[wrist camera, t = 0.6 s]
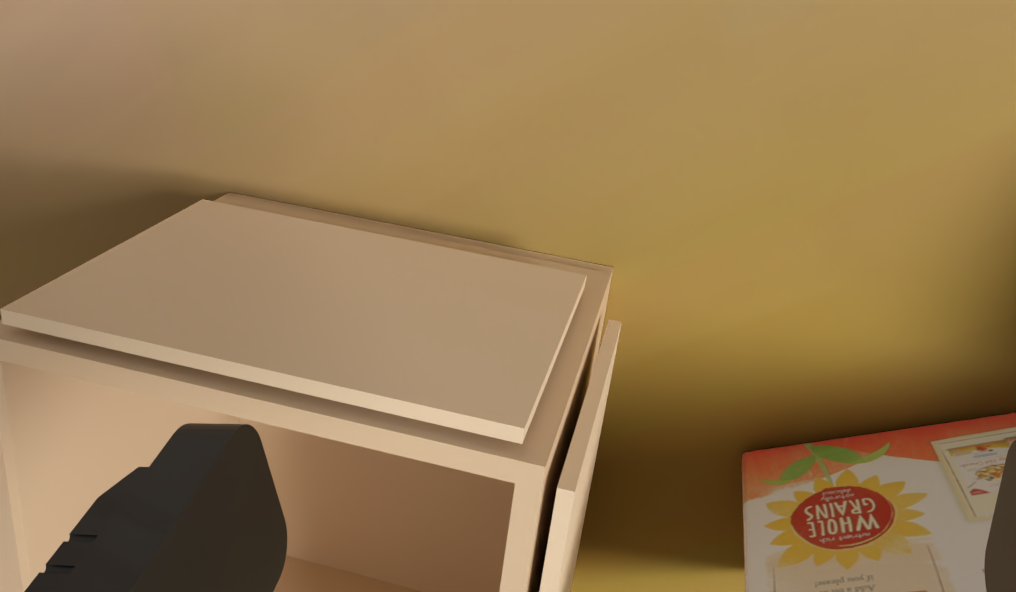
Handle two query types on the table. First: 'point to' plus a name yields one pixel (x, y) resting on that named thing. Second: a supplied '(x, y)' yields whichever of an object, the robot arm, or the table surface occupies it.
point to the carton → (324, 390)
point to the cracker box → (875, 510)
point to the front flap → (7, 539)
